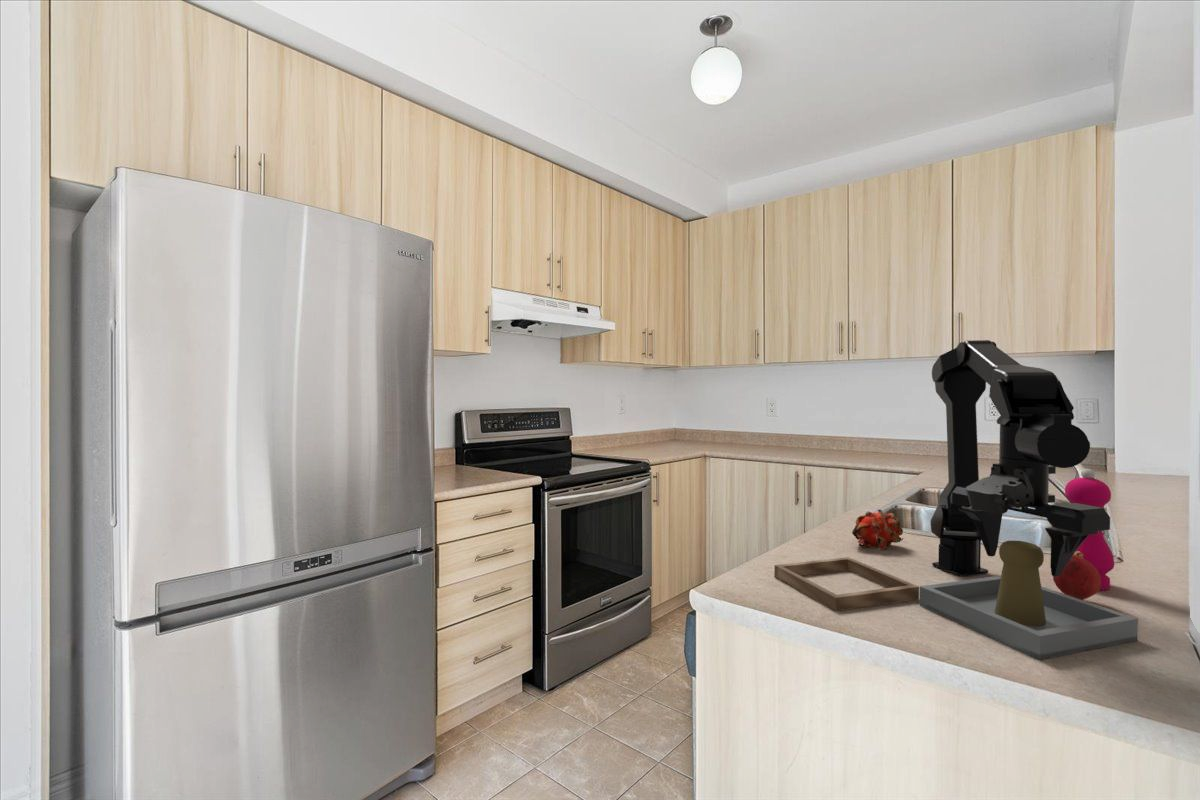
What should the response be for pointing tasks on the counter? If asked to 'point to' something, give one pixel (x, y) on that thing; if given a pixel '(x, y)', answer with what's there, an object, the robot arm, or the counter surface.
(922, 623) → the counter surface
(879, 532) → the dragon fruit
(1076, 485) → the pepper mill
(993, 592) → the gray square tray
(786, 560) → the counter surface
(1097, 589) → the pomegranate
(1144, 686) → the counter surface
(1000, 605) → the olive shaker
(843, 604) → the frame
